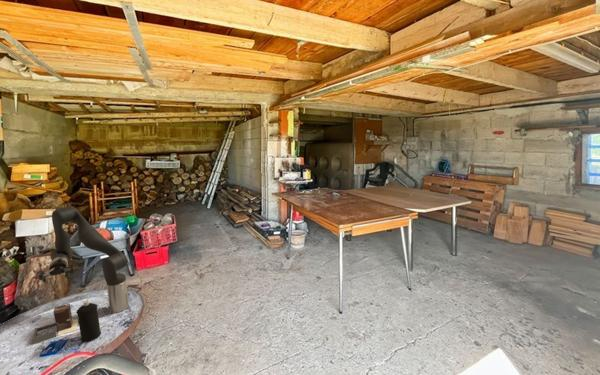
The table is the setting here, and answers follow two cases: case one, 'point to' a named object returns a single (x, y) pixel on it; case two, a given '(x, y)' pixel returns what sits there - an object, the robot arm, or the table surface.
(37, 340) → the open rectangular frame
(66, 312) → the box
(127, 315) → the table surface
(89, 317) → the aerosol can
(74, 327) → the pad
